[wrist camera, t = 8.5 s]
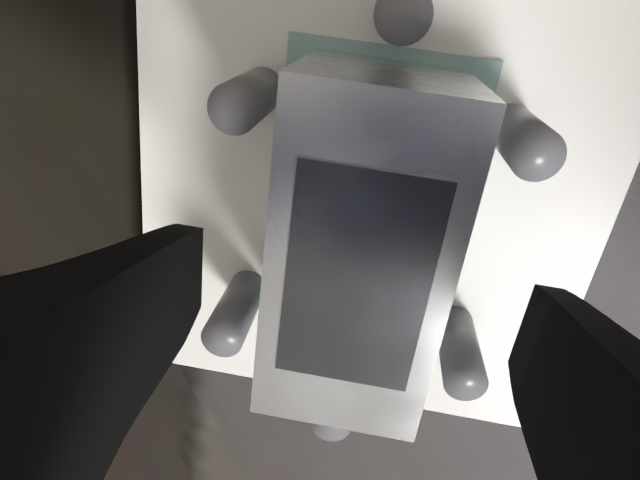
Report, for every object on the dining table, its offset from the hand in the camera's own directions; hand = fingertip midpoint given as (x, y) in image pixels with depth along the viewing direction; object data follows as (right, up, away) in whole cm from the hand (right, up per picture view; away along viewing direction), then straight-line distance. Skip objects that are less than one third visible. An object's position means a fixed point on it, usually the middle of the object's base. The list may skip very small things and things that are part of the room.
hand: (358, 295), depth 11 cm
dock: (+1, +2, +5) cm, 6 cm away
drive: (+1, +2, +4) cm, 5 cm away
